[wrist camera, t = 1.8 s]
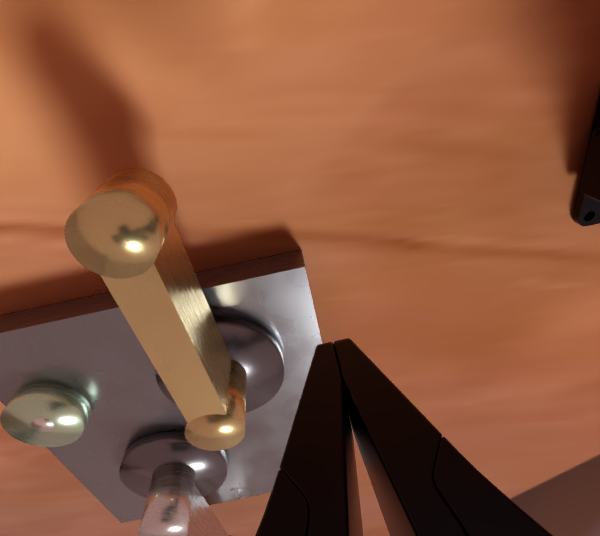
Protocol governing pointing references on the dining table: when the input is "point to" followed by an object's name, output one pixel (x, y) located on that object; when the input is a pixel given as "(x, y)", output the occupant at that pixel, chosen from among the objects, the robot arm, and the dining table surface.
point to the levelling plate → (148, 380)
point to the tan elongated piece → (174, 309)
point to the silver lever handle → (174, 484)
